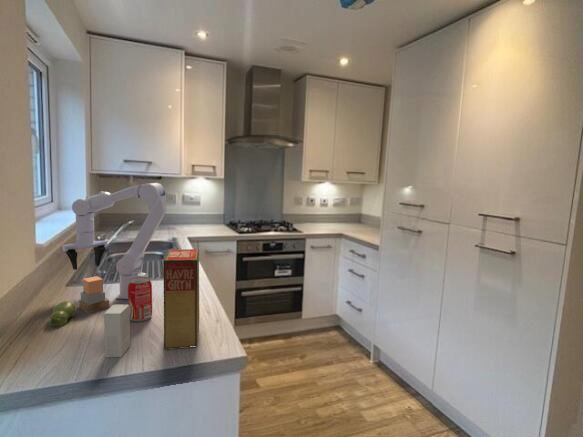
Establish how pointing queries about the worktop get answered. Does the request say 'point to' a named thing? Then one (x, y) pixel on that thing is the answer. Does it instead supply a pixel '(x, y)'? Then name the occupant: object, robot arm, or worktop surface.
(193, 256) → the food packaging
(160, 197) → the robot arm
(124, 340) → the skincare box
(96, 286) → the terracotta cube
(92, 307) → the walnut base
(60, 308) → the pear
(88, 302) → the slate block
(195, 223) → the worktop surface
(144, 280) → the soda can
